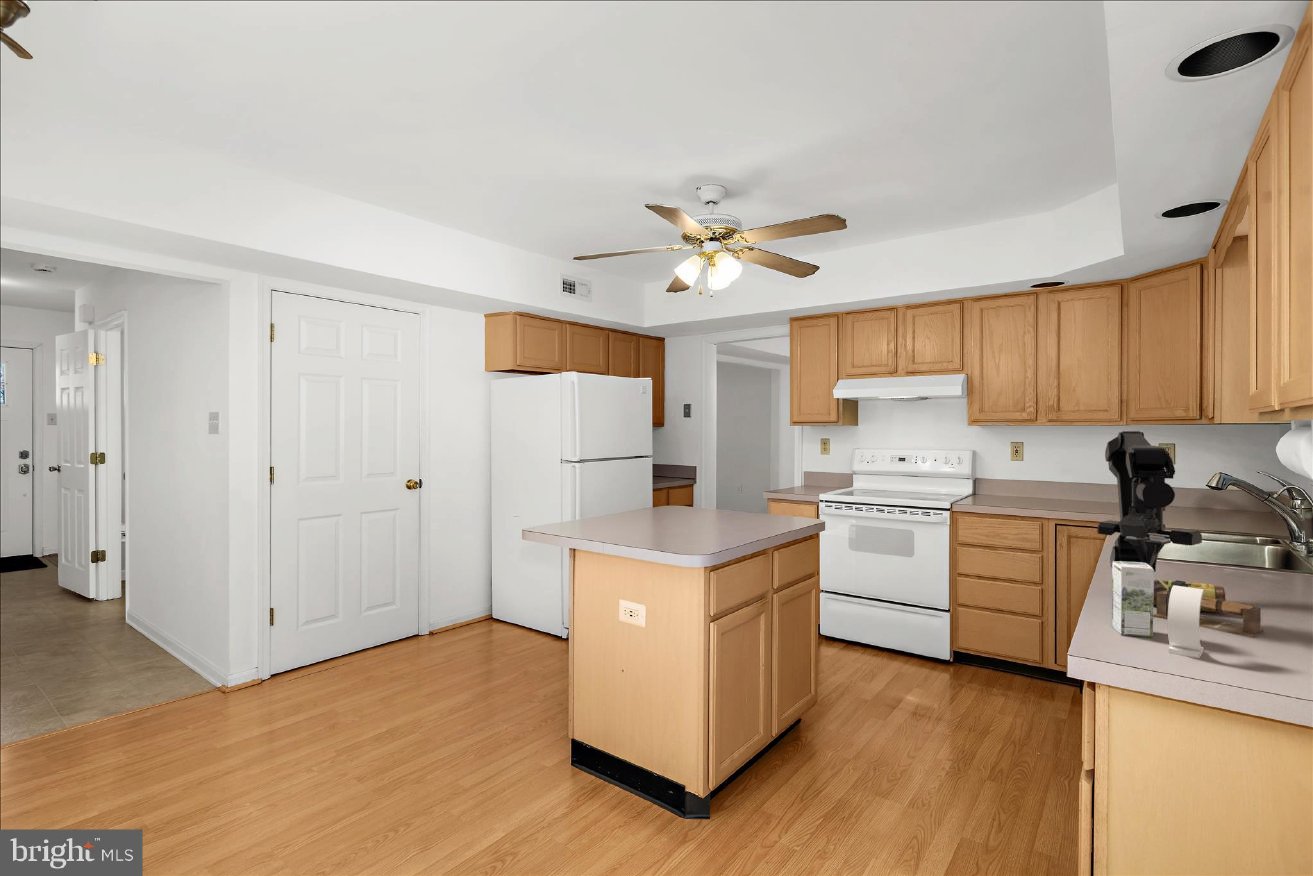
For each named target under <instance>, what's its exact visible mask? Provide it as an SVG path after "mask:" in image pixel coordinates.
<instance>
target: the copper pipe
mask: <svg viewBox="0 0 1313 876" xmlns="http://www.w3.org/2000/svg"><path fill="white" fill-rule="evenodd" d="M1163 593H1165V594H1167V593H1169V591H1167V590H1165V591H1164V592H1163ZM1253 607H1254V606H1253V605H1249V604H1244V603H1237V602H1233V601H1227V600H1226V601H1225V600H1220V599H1218V600H1217V599H1211V598H1206V597H1202V600H1201V606H1200V608H1204V609H1209V610H1214V611H1217V612H1216V613H1223V614H1224V613H1226V614H1232V615H1237V616H1241V617H1243V609H1244V608H1246V609H1251V608H1253Z"/></svg>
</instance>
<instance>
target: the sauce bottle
mask: <svg viewBox="0 0 1313 876" xmlns="http://www.w3.org/2000/svg"><path fill="white" fill-rule="evenodd" d="M1174 581H1175V580H1166V579H1165V580H1164V579H1154V598H1153V607H1154V606H1156V607H1157V592H1160V591H1165V590H1167V591H1169V587H1170V586H1171V582H1174ZM1185 582H1186V584H1187V585H1188V587H1190V588H1197V589H1204V594H1203V596H1202V597H1206V598H1211V599H1217V600H1218V599H1220V600H1225V601H1227V600H1226V591H1225V588H1224V586H1223V585H1215V584H1209V583H1200V582H1188V581H1185ZM1200 612H1209V613H1218V612H1217V611H1214V610H1209V609H1204V608H1200Z"/></svg>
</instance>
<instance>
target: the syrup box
mask: <svg viewBox="0 0 1313 876" xmlns="http://www.w3.org/2000/svg"><path fill="white" fill-rule="evenodd" d="M1111 569H1112V572H1111V573H1112V576H1111V577H1112V579H1111V583H1112V584H1111V585H1112V587H1111V589H1112V590H1111V627H1112V628H1113V629H1114V630H1115V631H1116V632H1117V633H1118V634H1120V635H1122V636H1132V637H1145V638H1147V637H1148V638H1153V637H1154V617H1153V615H1154V605H1153V598H1154V580H1155V572H1154V569H1153V568H1152V567H1151V566H1149V565H1148V564H1146V563H1143V562H1120V561H1113V563H1112V567H1111Z"/></svg>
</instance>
